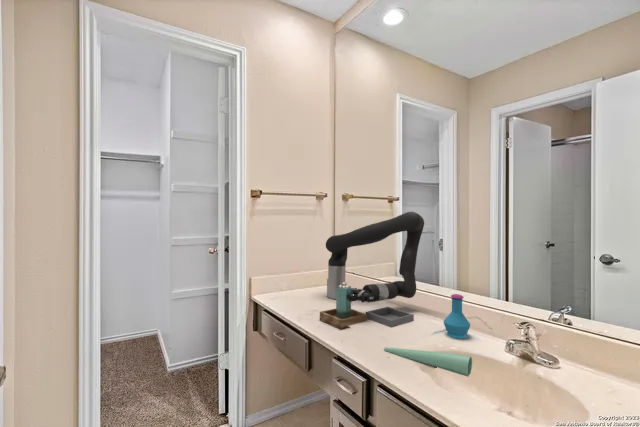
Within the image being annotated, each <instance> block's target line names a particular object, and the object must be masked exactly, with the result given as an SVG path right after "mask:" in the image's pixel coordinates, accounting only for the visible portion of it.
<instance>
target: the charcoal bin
mask: <svg viewBox="0 0 640 427" xmlns="http://www.w3.org/2000/svg"><path fill="white" fill-rule="evenodd" d="M365 314H367V320H370V321H373V322H376V323H379V324H381V325H384V326H387V327H389V328H394V327H398V326H400V325H404V324H407V323H410V322H414V320H415V318H414V317H415V314H413V313H410V312H407V311H403V310H400V309H398V308H394V307H391V306H386V307H381V308H376V309H373V310H369V311H365Z"/></svg>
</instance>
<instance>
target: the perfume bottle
mask: <svg viewBox="0 0 640 427" xmlns="http://www.w3.org/2000/svg"><path fill="white" fill-rule="evenodd" d="M450 298H451V311H450V313H449V314H448V315H447V316H446V317H445V319H444V320H443V325H444V328H445V330H446V334H447V336H449V337H451V338H455V339H466V338H467V334H468V333H469V332H468V331H470V327H471V323H470V322H469V320H468V318H467V317H466V316H465V314H464V313H463V299H464V298H465V297H464V296H463V295H462V294H459V293H458V294H457V293H453V294H451V295H450Z"/></svg>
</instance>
